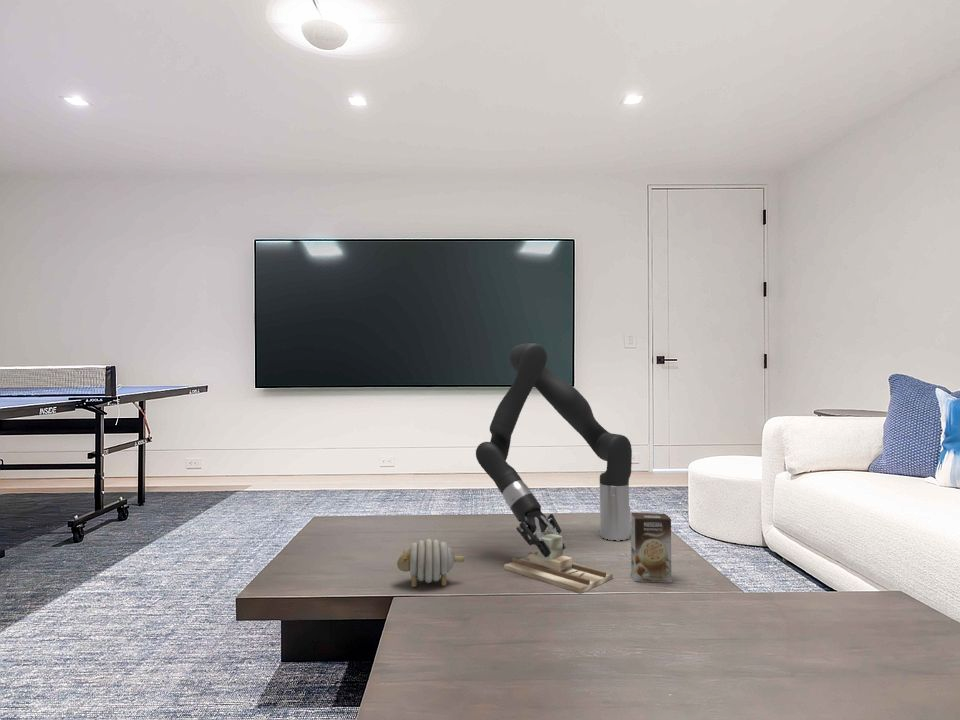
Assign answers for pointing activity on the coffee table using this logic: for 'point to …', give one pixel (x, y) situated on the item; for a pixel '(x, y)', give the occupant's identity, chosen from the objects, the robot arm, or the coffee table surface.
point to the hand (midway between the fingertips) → (555, 552)
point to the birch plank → (561, 575)
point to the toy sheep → (428, 561)
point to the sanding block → (552, 554)
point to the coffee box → (651, 547)
